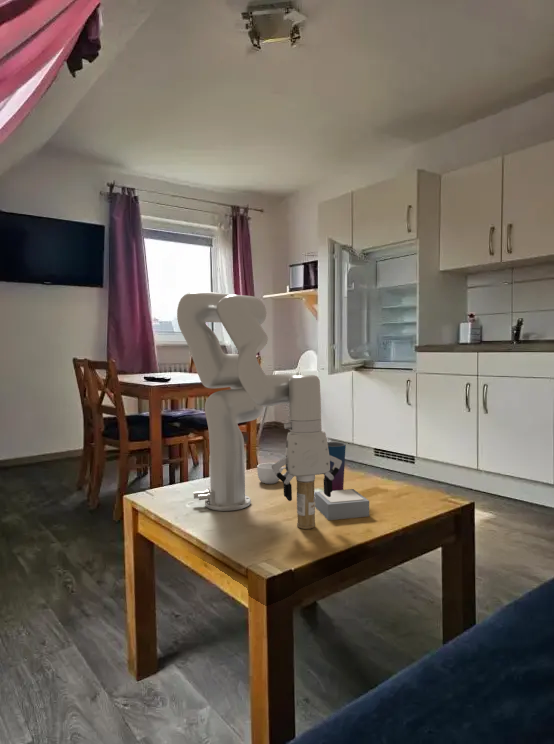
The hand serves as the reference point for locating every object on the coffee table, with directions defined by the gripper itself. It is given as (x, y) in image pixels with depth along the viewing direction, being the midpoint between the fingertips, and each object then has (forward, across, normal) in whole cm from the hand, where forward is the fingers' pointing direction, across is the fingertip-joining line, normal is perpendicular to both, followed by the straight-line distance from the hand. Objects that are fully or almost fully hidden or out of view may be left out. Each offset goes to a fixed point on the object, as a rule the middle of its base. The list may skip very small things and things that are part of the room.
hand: (308, 497), depth 123 cm
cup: (+7, +14, +23) cm, 28 cm away
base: (+7, +11, +9) cm, 16 cm away
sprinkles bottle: (+7, -1, +1) cm, 7 cm away
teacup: (+6, 0, +42) cm, 42 cm away
